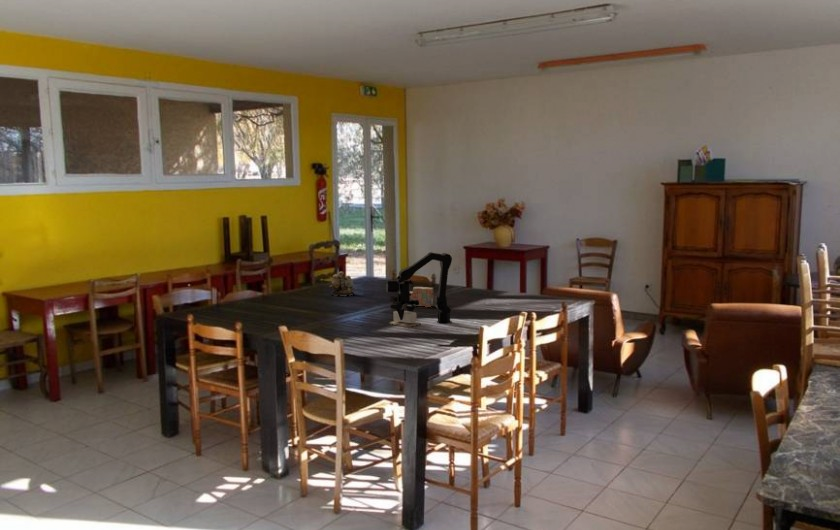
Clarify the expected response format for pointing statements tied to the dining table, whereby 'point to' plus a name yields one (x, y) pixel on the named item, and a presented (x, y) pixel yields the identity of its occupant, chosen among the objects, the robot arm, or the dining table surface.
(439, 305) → the robot arm
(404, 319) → the block
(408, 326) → the base
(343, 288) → the owl figurine
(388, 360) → the dining table surface
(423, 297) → the stack of blocks
